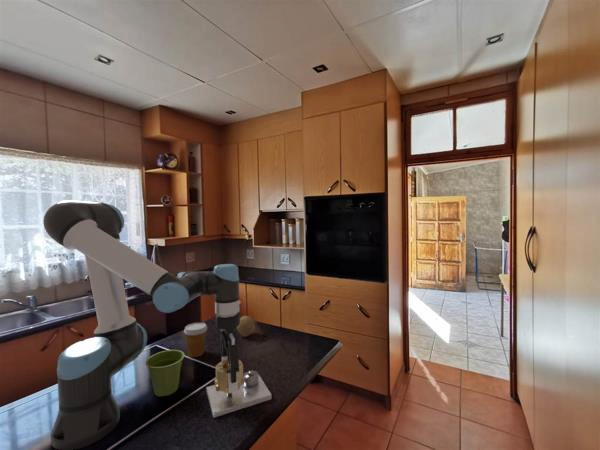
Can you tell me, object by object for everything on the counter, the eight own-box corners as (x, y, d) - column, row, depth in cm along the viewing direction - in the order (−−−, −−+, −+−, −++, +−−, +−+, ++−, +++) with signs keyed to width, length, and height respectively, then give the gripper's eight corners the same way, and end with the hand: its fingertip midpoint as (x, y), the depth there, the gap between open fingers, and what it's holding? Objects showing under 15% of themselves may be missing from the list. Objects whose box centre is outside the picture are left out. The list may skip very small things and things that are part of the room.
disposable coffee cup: (179, 357, 118) (178, 329, 117) (194, 347, 127) (194, 321, 126) (198, 360, 114) (197, 331, 114) (212, 350, 123) (211, 323, 123)
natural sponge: (236, 333, 142) (236, 313, 142) (254, 331, 144) (254, 312, 143) (236, 340, 133) (235, 319, 133) (255, 338, 135) (254, 318, 134)
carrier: (213, 417, 81) (212, 397, 81) (206, 391, 94) (206, 373, 94) (271, 399, 89) (271, 380, 89) (257, 377, 102) (257, 360, 102)
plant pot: (138, 400, 90) (137, 366, 89) (161, 379, 101) (160, 349, 101) (172, 403, 88) (171, 368, 88) (192, 381, 100) (191, 350, 99)
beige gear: (217, 396, 83) (217, 376, 83) (212, 380, 91) (212, 362, 91) (247, 387, 87) (247, 368, 87) (240, 373, 95) (239, 355, 95)
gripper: (248, 322, 81) (250, 398, 81) (231, 302, 100) (233, 364, 100) (222, 327, 77) (224, 407, 78) (210, 306, 97) (212, 370, 97)
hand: (229, 383), depth 89 cm, fingers closed on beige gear, 9 cm apart
